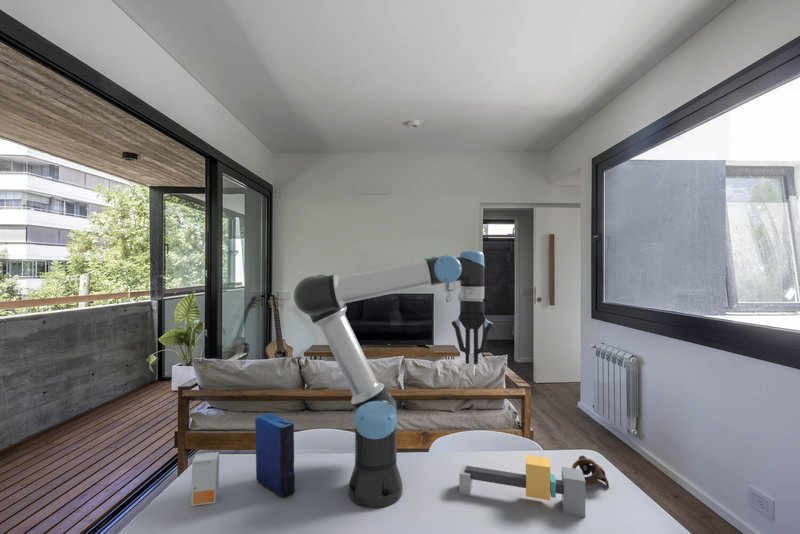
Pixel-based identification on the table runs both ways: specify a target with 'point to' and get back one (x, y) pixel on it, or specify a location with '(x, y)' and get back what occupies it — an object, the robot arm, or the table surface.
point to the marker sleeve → (537, 477)
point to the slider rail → (568, 486)
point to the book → (275, 454)
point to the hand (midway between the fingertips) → (471, 374)
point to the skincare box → (205, 478)
